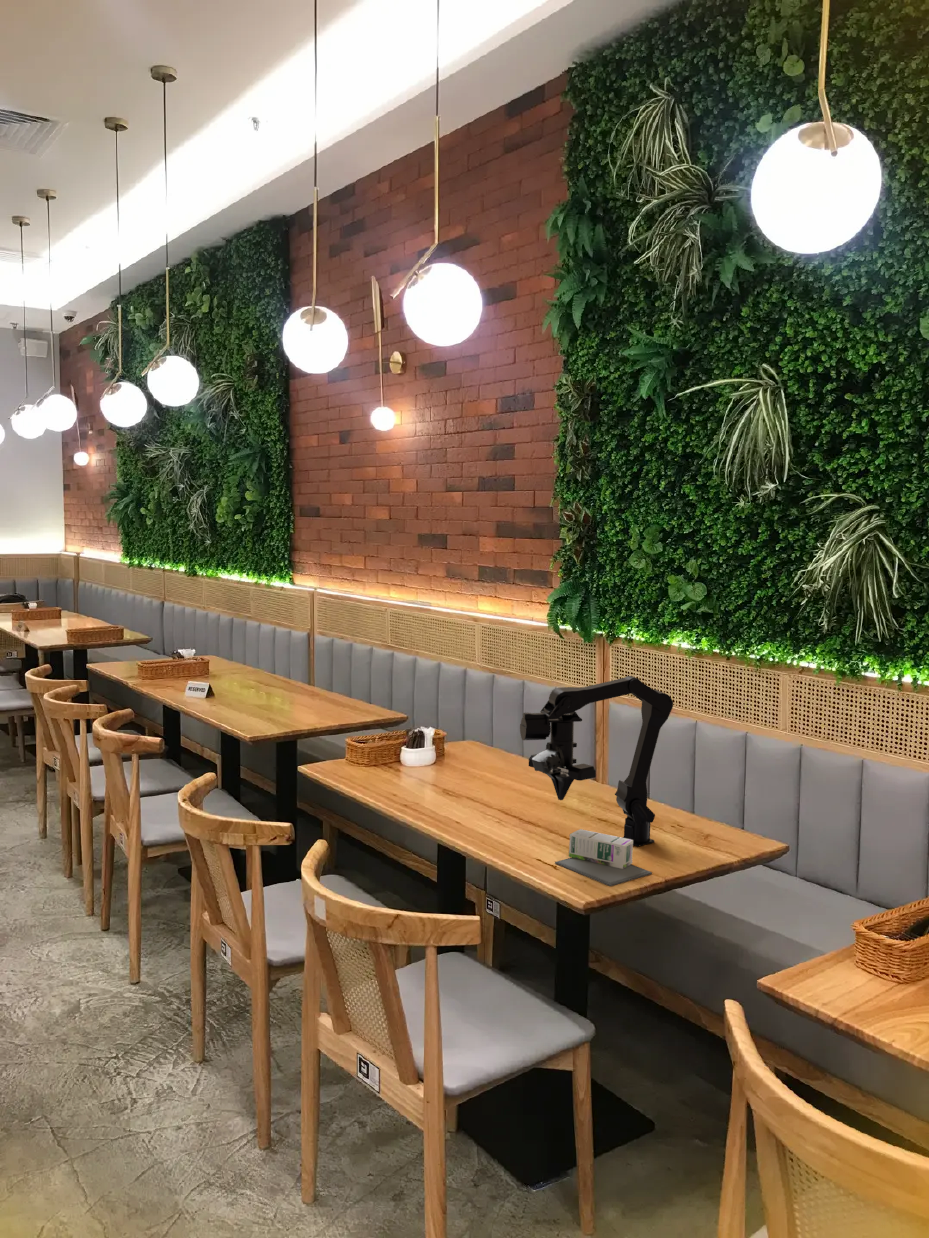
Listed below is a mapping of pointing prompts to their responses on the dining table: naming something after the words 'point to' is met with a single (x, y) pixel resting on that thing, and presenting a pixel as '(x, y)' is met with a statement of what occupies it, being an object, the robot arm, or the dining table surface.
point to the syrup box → (601, 848)
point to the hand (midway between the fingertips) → (560, 799)
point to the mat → (603, 871)
